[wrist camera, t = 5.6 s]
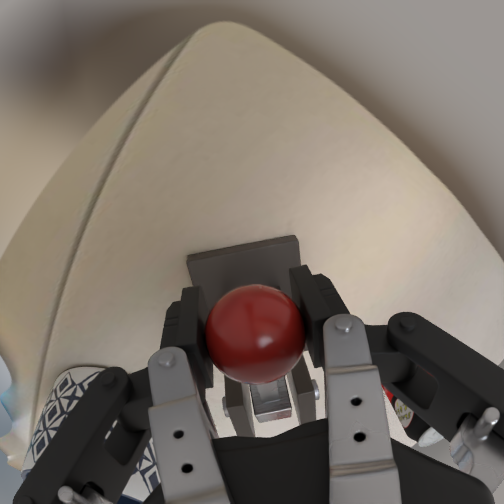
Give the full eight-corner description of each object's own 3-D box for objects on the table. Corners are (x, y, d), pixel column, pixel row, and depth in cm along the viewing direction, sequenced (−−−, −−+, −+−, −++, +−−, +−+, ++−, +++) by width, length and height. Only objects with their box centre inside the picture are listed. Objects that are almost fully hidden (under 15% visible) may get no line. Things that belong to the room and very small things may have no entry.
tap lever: (189, 274, 11) (196, 374, 8) (293, 254, 11) (322, 350, 9) (241, 384, 21) (250, 433, 18) (292, 374, 21) (303, 422, 19)
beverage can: (406, 330, 32) (459, 404, 22) (424, 352, 35) (470, 419, 24) (364, 364, 34) (404, 444, 23) (386, 382, 36) (423, 453, 25)
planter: (40, 395, 32) (7, 480, 19) (88, 340, 29) (44, 455, 16) (132, 450, 38) (122, 531, 25) (200, 412, 35) (201, 518, 22)
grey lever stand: (187, 255, 26) (168, 367, 14) (295, 234, 26) (351, 332, 15) (219, 359, 31) (224, 470, 19) (306, 342, 31) (342, 447, 20)
